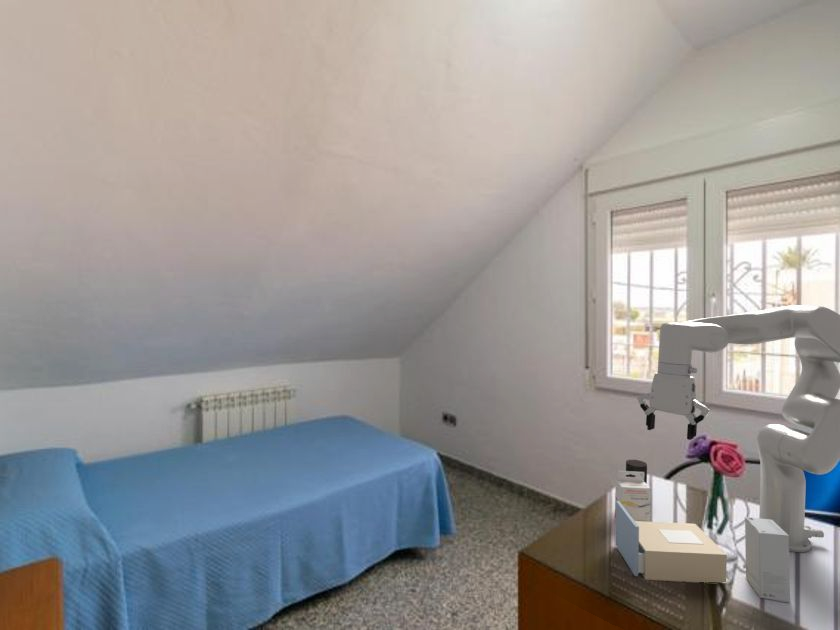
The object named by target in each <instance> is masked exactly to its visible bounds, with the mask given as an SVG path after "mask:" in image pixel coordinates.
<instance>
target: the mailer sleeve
mask: <svg viewBox="0 0 840 630" xmlns="http://www.w3.org/2000/svg"><path fill="white" fill-rule="evenodd" d="M635 522H636V524H637V525H638V526H639V544H640V546H641V547H642V548H643V550H644V551H645V571H644V573H641V575H642V576H643V578H644V580H647V581H648V580H649V581H665V582H667V581H669V582H681V583H682V581H685V582H684V583H699V582H704V583H703V584H709V583H708V582H726V583H727V560H728V559H727V558H728V557H727V556H728V555H727V553H726V552H725V551H724V550H723V549H722V548H721V547H720V546H718V545H717V544H716V542H715V541H713V540H712V538H710V537H709V536H708V535H707V534H706V532H704V531H703V530H702V529H701V528H700V527H699V526H698V525H697V524H696V523H688V522H685V523H682V522H668V521H667V522H664V521H663V522H661V521H650V522H645V521H635ZM705 582H707V583H705Z"/></svg>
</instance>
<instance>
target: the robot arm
mask: <svg viewBox="0 0 840 630" xmlns="http://www.w3.org/2000/svg"><path fill="white" fill-rule="evenodd" d="M659 328H660V329H659V341H658V345H659V346H658V357H657V358H658V359H657V372H654V375H653V379H652V382H651V387H650V392H649V393H648V392H647V393H645V394H642V395H638V396H637V398H636V399H637V401H638V403H639V406H640V408H641V409H642V410H643V412H644V414H645V416H646V417H645V426H647V427H646V428H647V431H651V430H654V429H655V424H656V414H655V413H656V411H658V412H659V411H660V412H663V413H664V412H665V413H669V414H674V415H679V416H685V418H686V419H687V421H688V422H689V423H687V431H686V432H687V433H686V439H687V440H689V441H691V440H693V439H694V438H696V437H697V432H698V431H697V428H698V424H699V423H701V422H702V421H704V420H706V417H708V416H709V414H710V413H711V409H710V408H709V407H707V406H706V405H704V404H702V403H701V402H700V401H698V400H697V390H696V381H695V376H692V374H697V373H698V368H696V367H694V366H693V364H692V357H693V354H692V353H693V351H696V352H697V351H698V352H702V353H712V354H714V353H718V352H721V351H722V350H725V349H726V348H727V346H728V345H729V344H735V345H758V344H763V343H764V344H765V343H770V342H775V341H780V340H786V339H792V338H793V339H794V347H795V351H796V353H797V355H798V357H799V360H800V364H801V372H800V375H799V377H798V379H797V381H796V383H795V385H793V387H792V389H791V391H790V392H789V394H788V395H787V397H786V399H785V401H784V404H783V406H782V408H781V414H782V417H783V418H784V419H785V420H786V421H787V422H789V423H791V424H794V425H796V426H799V427H802V428H804V429H808V430H811V433H809V432H806V431H803V430H801V429H799V428H798V429H797V428H794V427H792V426H788V425H784V424H779V423H771V424H767V425H764V426H763V427H761V429H760V430H759V431H758V432H757V436H756V446H757V450H758V456H759V462H760V483H759V484H760V486H759V490H760V491H759V517H758V518H760V519H770V520H773V521H774V522H775V523H776V524H777V525H778V526H779V527H780V528H781V529H782V530H783V531H785V532H786V533H787V534H788V535H789V552H792V553H806V552H809V551H810V550H812V542H811V540H810V539H812V537H814V538H824V536H825V533H824V531H823V530H822V529H814V528H811V526H810V525H805V521H806V520H805V518H806V517H805V513H806V511H805V510H806V487H807V486H806V483H807V482H806V477H805V472H808V473H811V474H814V475H824V474H828V473H830V472H831V471H832V470H833V469H834V468H836V466H837V465H838V463H839V462H840V399H839V398H836V397H837V395H838V393H839V391H840V371H839V369H838V367H837V365H836V363H840V314H839V313H838V312H837V311H834V310H832V309H830V308H828V307H825V306H820V305H819V306H817V305H816V306H815V305H814V306H813V305H811V306H810V305H787V306H785V305H784V306H781V307H775V308H769V309H764V310H758V311H752V312H751V311H750V312H743V313H737V314H729V315H721V316H713V317H705V318H697V319H693V320H692V319H691V320H686V321H683V322H664V323H662V324H661V325H660V327H659ZM647 399H649V405H648V404H647V403H646V400H647ZM697 410H700V414H699V415H698V416H697V415H696V414H695V413H696V411H697ZM804 471H805V472H804Z"/></svg>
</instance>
